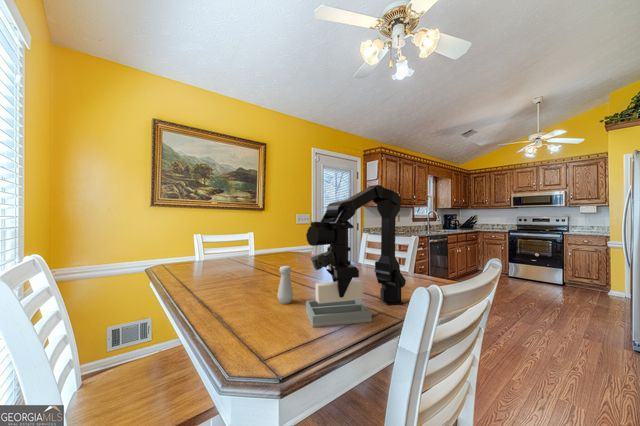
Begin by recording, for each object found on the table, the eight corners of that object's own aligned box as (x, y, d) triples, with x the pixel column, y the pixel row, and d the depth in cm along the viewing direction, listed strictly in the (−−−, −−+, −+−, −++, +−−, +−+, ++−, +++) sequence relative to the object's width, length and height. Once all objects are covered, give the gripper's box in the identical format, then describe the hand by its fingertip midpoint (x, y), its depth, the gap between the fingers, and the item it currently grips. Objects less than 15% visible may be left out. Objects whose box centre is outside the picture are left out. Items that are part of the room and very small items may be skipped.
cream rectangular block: (358, 295, 79) (358, 279, 79) (363, 299, 76) (362, 282, 76) (315, 299, 76) (315, 283, 76) (318, 303, 72) (318, 286, 72)
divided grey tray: (356, 306, 87) (356, 297, 87) (371, 321, 74) (371, 311, 74) (305, 310, 83) (305, 301, 84) (312, 327, 70) (312, 316, 70)
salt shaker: (285, 305, 88) (285, 268, 88) (273, 302, 91) (273, 266, 92) (296, 301, 92) (296, 266, 93) (285, 298, 96) (285, 264, 96)
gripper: (308, 241, 84) (308, 288, 83) (319, 247, 65) (319, 308, 65) (340, 240, 86) (340, 286, 86) (359, 246, 68) (360, 304, 67)
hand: (339, 295), depth 76 cm, fingers closed on cream rectangular block, 4 cm apart
